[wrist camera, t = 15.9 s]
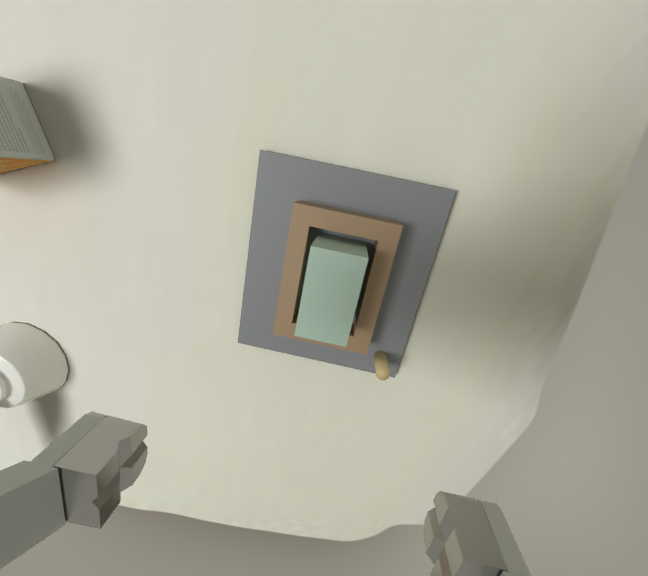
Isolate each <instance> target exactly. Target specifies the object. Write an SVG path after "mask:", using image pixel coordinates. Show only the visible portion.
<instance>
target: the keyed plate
mask: <svg viewBox="0 0 648 576" xmlns="http://www.w3.org/2000/svg"><path fill="white" fill-rule="evenodd" d="M455 193H456V191H455V190H450V189H445V188H440V187H436V186H431V185H426V184H421V183H417V182H412V181H407V180H402V179H397V178H393V177H388V176H383V175H378V174H374V173H369V172H364V171H359V170H355V169H350V168H345V167H340V166H335V165H331V164H326V163H321V162H316V161H312V160H307V159H302V158H297V157H293V156H288V155H283V154H278V153H274V152H269V151H264V150H260V155H259V164H258V172H257V181H256V190H255V198H254V207H253V216H252V224H251V233H250V241H249V250H248V259H247V267H246V276H245V285H244V293H243V302H242V311H241V319H240V328H239V337H238V343H242V344H246V345H251V346H255V347H260V348H264V349H269V350H273V351H278V352H282V353H287V354H291V355H296V356H300V357H305V358H309V359H314V360H318V361H323V362H327V363H332V364H336V365H341V366H345V367H350V368H354V369H359V370H363V371H368V372H372V373H376V376H377V378H378V379H380V380H386V379H388V378H389V376H390V377H395V375H396V372H397V369H398V366H399V363H400V360H401V357H402V354H403V351H404V348H405V345H406V342H407V339H408V336H409V333H410V330H411V327H412V324H413V321H414V318H415V315H416V312H417V309H418V305H419V302H420V299H421V296H422V293H423V290H424V287H425V284H426V281H427V278H428V275H429V272H430V269H431V266H432V263H433V260H434V257H435V254H436V251H437V248H438V245H439V242H440V239H441V236H442V233H443V230H444V227H445V224H446V221H447V218H448V215H449V211H450V208H451V205H452V202H453V199H454V196H455ZM319 232H322V233H327V234H331V235H336V236H341V237H346V238H350V239H355V240H360V241H365V242H366V247H367V252H368V258H369V259H368V263H367V267H366V271H365V275H364V279H363V283H362V286H361V290H360V294H359V298H358V302H357V306H356V310H355V314H354V318H353V322H352V326H351V330H350V334H349V338H348V342H347V346H346V347H343V346H339V345H334V344H330V343H325V342H320V341H316V340H311V339H307V338H302V337H298V336H294V334H295V329H296V323H297V318H298V313H299V307H300V302H301V296H302V291H303V285H304V280H305V274H306V269H307V263H308V258H309V252H310V247H311V245H312V243H313V242H314V240H315V239H316V237H317V236H318V234H319Z"/></svg>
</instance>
